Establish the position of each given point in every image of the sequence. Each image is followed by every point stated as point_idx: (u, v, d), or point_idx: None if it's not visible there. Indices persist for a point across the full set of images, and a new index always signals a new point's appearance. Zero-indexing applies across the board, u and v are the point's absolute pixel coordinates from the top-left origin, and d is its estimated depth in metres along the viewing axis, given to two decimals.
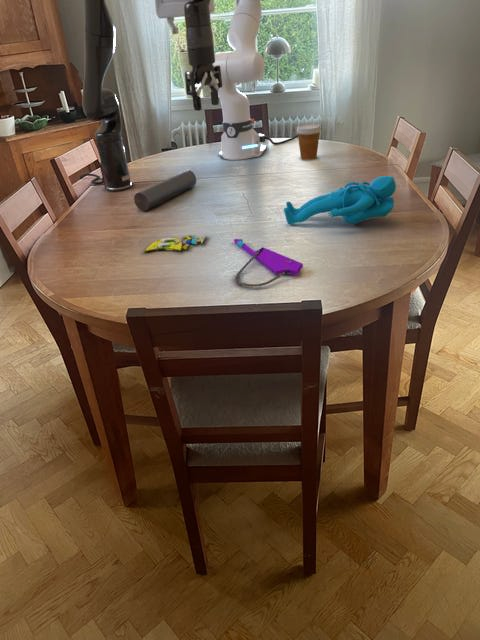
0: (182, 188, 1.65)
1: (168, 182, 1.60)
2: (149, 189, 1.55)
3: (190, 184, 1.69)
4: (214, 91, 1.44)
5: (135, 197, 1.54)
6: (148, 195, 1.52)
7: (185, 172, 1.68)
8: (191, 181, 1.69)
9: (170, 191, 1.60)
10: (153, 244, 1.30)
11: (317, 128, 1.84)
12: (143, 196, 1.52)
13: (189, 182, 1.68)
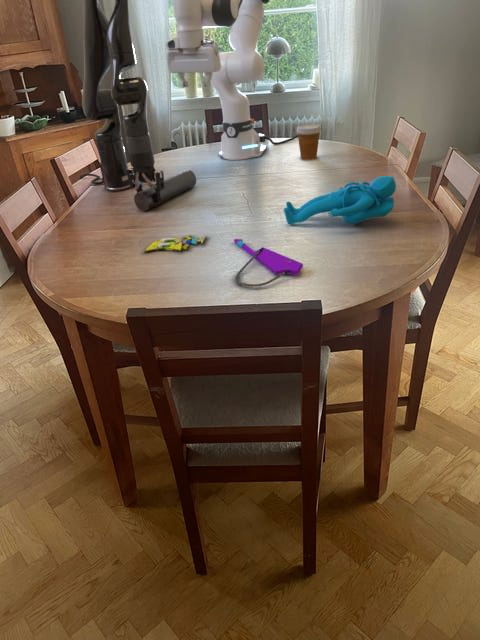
0: (182, 188, 1.65)
1: (168, 182, 1.60)
2: (149, 189, 1.55)
3: (190, 184, 1.69)
4: None
5: (135, 197, 1.54)
6: (148, 195, 1.52)
7: (185, 172, 1.68)
8: (191, 181, 1.69)
9: (170, 191, 1.60)
10: (153, 244, 1.30)
11: (317, 128, 1.84)
12: (143, 196, 1.52)
13: (189, 182, 1.67)
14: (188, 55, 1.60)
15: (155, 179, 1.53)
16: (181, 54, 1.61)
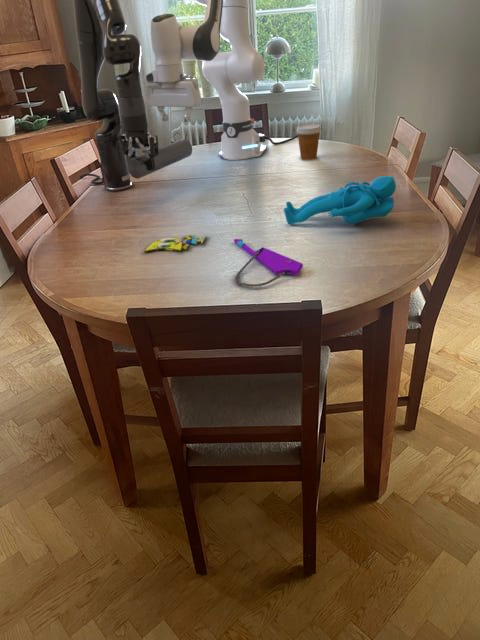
0: (177, 157, 1.60)
1: (163, 150, 1.55)
2: (143, 156, 1.49)
3: (186, 153, 1.63)
4: None
5: (128, 163, 1.48)
6: (141, 161, 1.47)
7: (181, 141, 1.62)
8: (187, 150, 1.63)
9: (165, 159, 1.54)
10: (153, 244, 1.30)
11: (317, 128, 1.84)
12: (136, 162, 1.46)
13: (185, 151, 1.62)
14: (167, 89, 1.53)
15: (149, 145, 1.47)
16: (160, 88, 1.54)
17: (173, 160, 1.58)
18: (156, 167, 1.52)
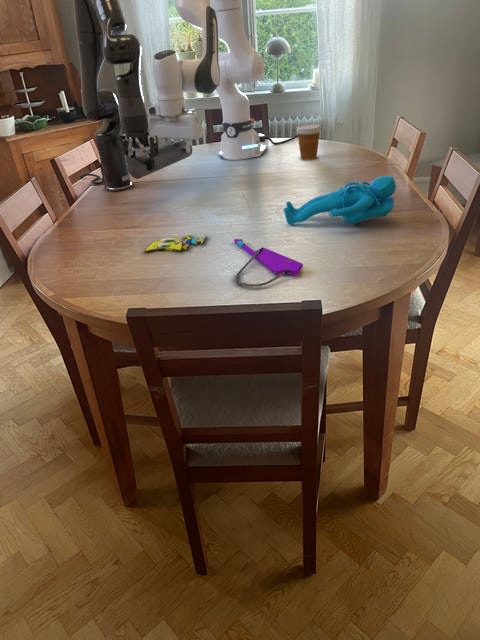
0: (177, 157, 1.60)
1: (163, 150, 1.55)
2: (143, 156, 1.49)
3: (186, 153, 1.63)
4: None
5: (128, 163, 1.48)
6: (141, 161, 1.47)
7: (181, 141, 1.62)
8: None
9: (165, 159, 1.54)
10: (153, 244, 1.30)
11: (317, 128, 1.84)
12: (136, 162, 1.46)
13: None
14: (169, 121, 1.57)
15: (149, 145, 1.47)
16: (162, 120, 1.58)
17: (173, 160, 1.58)
18: (156, 167, 1.52)
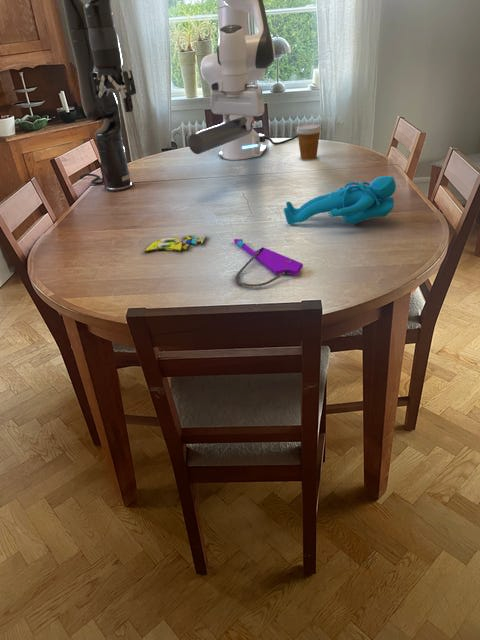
0: (237, 134, 1.59)
1: (224, 126, 1.54)
2: (204, 131, 1.49)
3: (246, 131, 1.62)
4: None
5: (189, 138, 1.49)
6: (203, 136, 1.47)
7: (241, 118, 1.61)
8: None
9: (225, 135, 1.54)
10: (153, 244, 1.30)
11: (317, 128, 1.84)
12: (198, 137, 1.47)
13: None
14: (231, 98, 1.57)
15: (124, 83, 1.33)
16: (224, 96, 1.58)
17: (233, 137, 1.58)
18: (216, 143, 1.52)
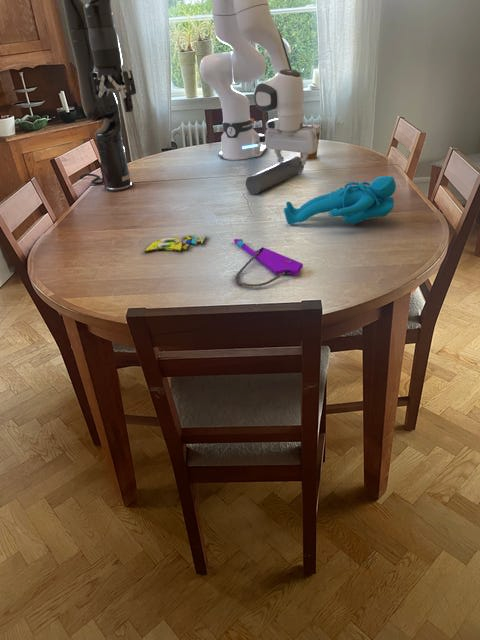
0: (290, 174, 1.69)
1: (278, 168, 1.65)
2: (261, 173, 1.60)
3: (298, 171, 1.72)
4: None
5: (247, 180, 1.60)
6: (260, 179, 1.58)
7: (294, 159, 1.71)
8: (299, 168, 1.72)
9: (280, 176, 1.64)
10: (153, 244, 1.30)
11: (317, 128, 1.84)
12: (255, 180, 1.57)
13: (297, 169, 1.71)
14: (286, 135, 1.66)
15: (124, 83, 1.33)
16: (280, 134, 1.67)
17: (286, 177, 1.68)
18: (271, 184, 1.63)
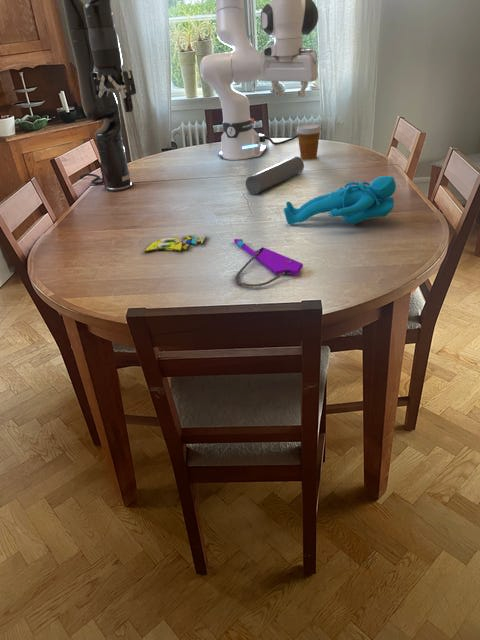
0: (290, 174, 1.69)
1: (278, 168, 1.65)
2: (261, 173, 1.60)
3: (298, 171, 1.72)
4: None
5: (247, 180, 1.60)
6: (260, 179, 1.58)
7: (294, 159, 1.71)
8: (299, 168, 1.72)
9: (280, 176, 1.64)
10: (153, 244, 1.30)
11: (317, 128, 1.84)
12: (255, 180, 1.57)
13: (297, 169, 1.71)
14: (284, 63, 1.54)
15: (124, 83, 1.33)
16: (277, 62, 1.55)
17: (286, 177, 1.68)
18: (271, 184, 1.63)
